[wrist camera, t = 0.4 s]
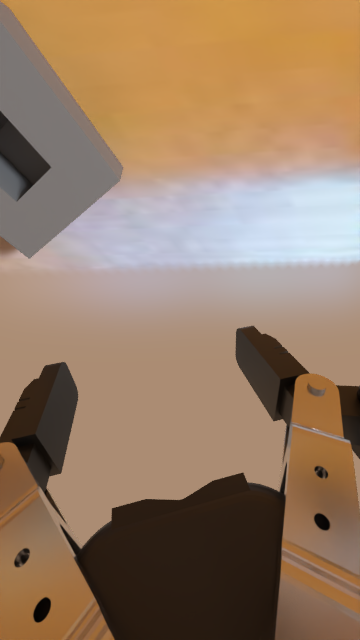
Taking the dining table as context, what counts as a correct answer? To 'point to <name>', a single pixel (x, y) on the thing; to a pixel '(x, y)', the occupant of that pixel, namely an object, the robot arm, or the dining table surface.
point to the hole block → (43, 146)
